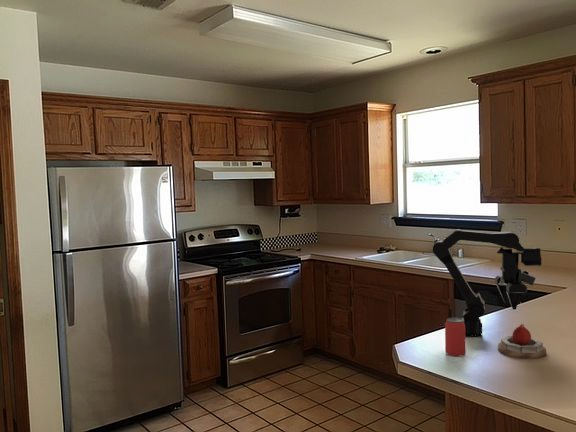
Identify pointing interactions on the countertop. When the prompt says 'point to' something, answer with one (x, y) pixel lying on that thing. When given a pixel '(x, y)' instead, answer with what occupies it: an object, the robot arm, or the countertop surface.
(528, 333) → the onion
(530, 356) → the ring board
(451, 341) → the beer can
